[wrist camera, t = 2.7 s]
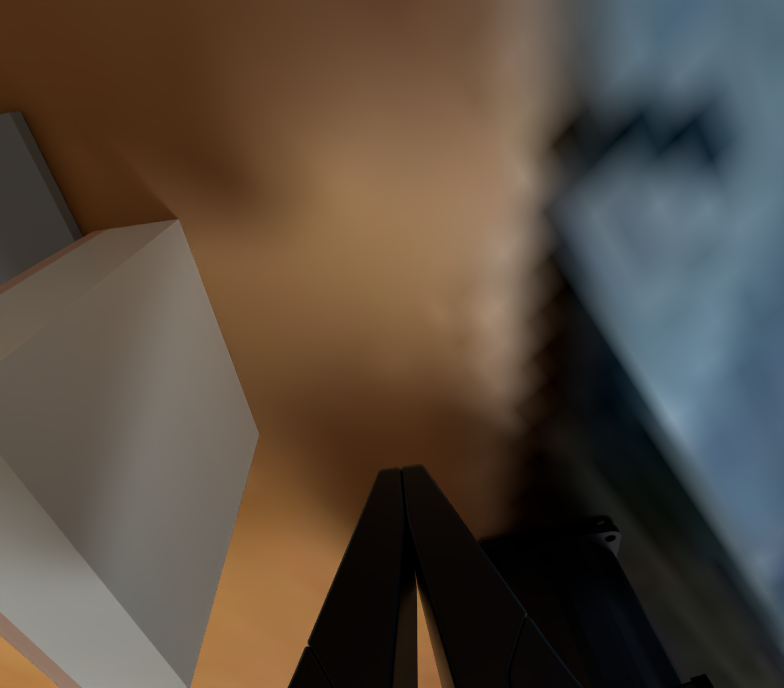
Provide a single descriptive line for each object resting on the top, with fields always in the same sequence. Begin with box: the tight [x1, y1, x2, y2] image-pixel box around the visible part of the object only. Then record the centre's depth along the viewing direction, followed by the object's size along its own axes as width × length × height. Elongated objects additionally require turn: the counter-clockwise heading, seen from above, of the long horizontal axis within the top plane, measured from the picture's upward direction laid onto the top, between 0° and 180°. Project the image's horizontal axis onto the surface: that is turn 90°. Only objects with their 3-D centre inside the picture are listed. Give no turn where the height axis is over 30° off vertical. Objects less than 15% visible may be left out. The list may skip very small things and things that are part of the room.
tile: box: [0, 219, 259, 688], centre depth 11 cm, size 2×8×8 cm, turn 7°
